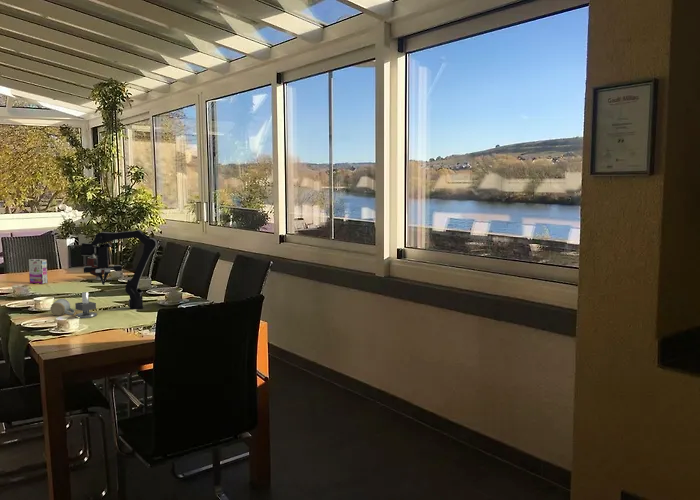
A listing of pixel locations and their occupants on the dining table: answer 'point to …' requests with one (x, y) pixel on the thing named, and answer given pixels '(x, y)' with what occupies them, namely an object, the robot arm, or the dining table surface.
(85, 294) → the pipe stand
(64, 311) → the ceramic mug
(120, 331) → the dining table surface
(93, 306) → the ring
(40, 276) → the candy bar box
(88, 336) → the dining table surface
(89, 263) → the mate gourd
